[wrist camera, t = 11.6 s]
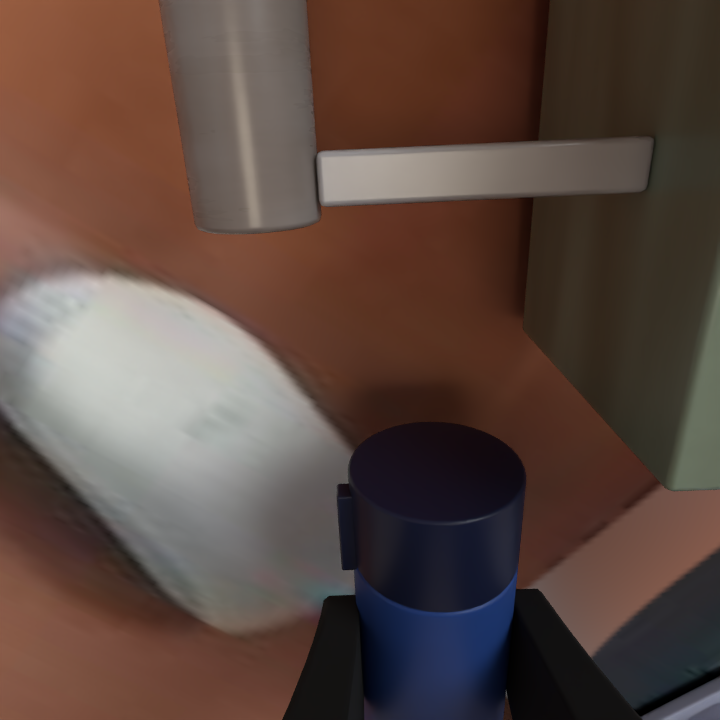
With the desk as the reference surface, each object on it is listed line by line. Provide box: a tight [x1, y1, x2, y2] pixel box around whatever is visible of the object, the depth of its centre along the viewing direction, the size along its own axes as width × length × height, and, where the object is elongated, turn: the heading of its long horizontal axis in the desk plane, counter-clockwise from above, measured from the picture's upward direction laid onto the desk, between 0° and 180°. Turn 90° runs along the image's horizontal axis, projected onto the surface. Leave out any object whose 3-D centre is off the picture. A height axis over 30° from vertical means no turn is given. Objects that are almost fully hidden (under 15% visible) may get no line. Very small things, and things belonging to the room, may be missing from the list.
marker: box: [337, 422, 526, 720], centre depth 10 cm, size 8×3×3 cm, turn 2°
